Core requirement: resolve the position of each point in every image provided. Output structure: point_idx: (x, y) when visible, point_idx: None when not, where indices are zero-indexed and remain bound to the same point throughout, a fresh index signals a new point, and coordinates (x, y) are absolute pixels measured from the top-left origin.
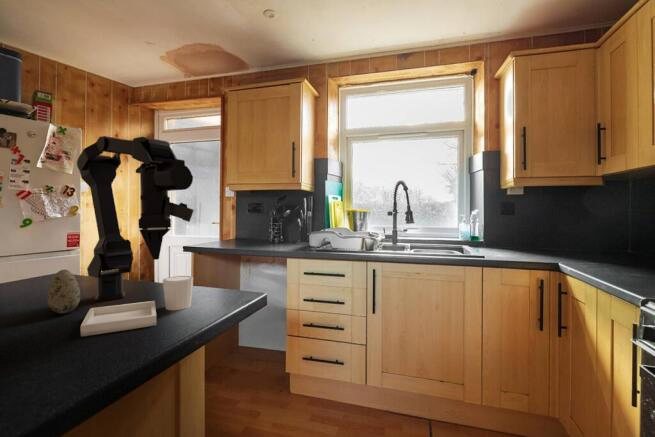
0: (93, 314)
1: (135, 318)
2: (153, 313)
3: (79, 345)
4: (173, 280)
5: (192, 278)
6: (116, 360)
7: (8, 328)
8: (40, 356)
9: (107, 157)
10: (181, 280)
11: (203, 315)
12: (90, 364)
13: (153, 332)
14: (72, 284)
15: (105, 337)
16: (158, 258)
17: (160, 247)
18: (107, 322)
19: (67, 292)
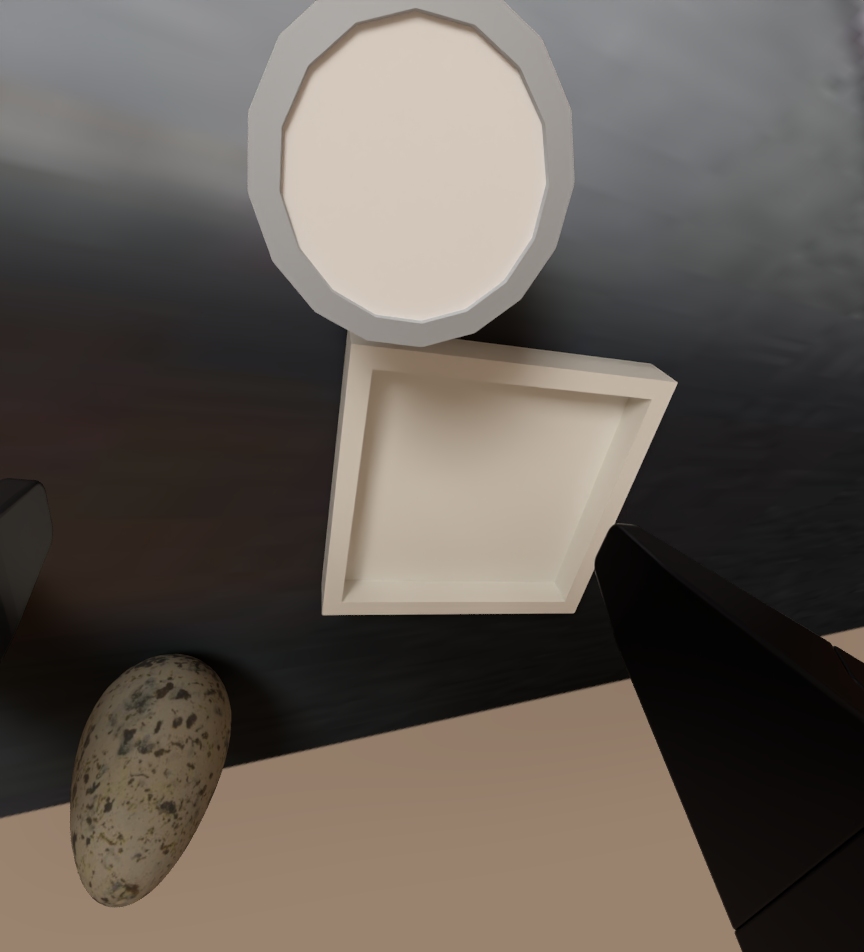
0: (372, 588)
1: (640, 463)
2: (632, 389)
3: None
4: (475, 255)
5: (511, 9)
6: (840, 496)
7: (309, 745)
8: None
9: None
10: (552, 186)
11: (708, 74)
12: (802, 545)
13: (724, 386)
14: (184, 776)
15: None
16: (639, 529)
17: (788, 622)
18: None
19: (217, 749)
